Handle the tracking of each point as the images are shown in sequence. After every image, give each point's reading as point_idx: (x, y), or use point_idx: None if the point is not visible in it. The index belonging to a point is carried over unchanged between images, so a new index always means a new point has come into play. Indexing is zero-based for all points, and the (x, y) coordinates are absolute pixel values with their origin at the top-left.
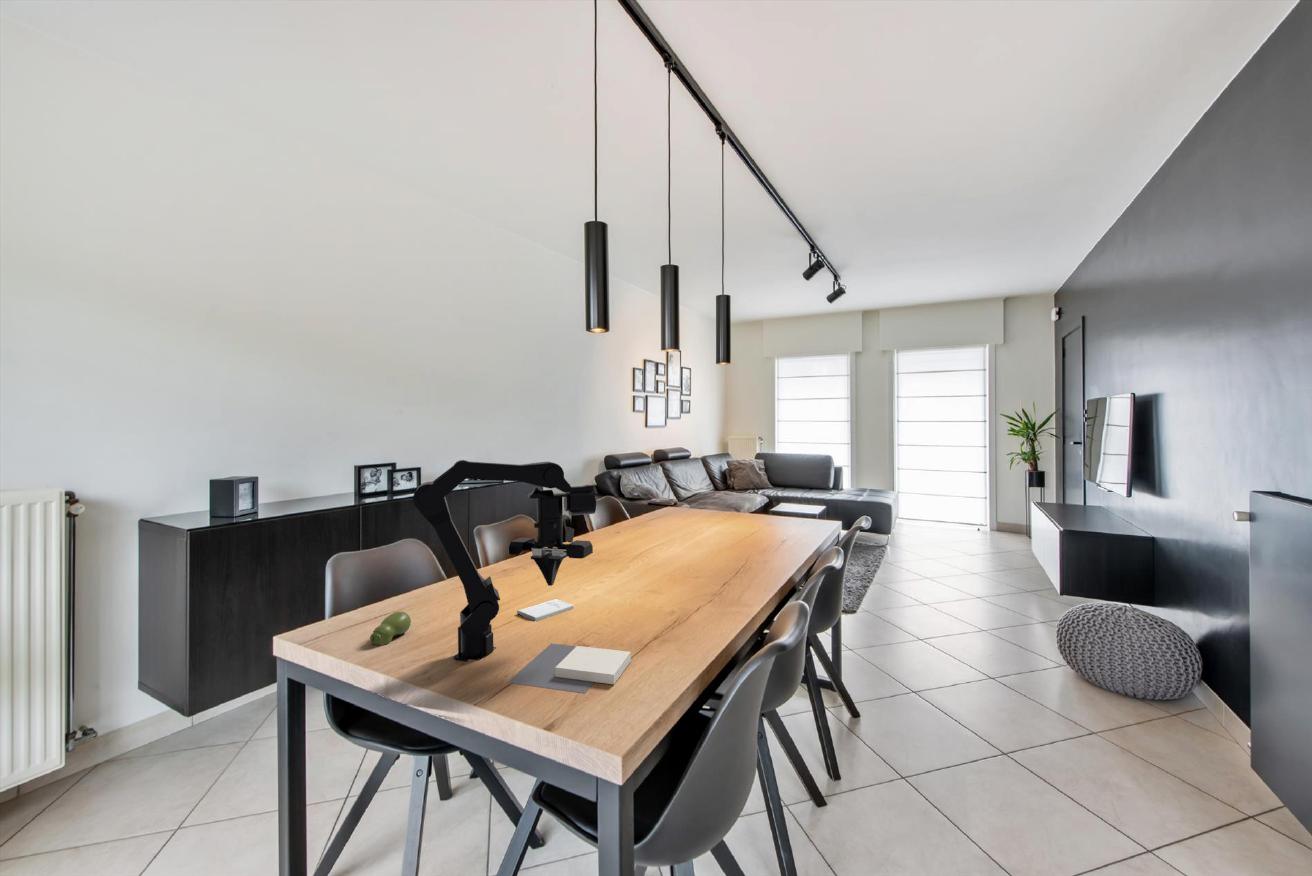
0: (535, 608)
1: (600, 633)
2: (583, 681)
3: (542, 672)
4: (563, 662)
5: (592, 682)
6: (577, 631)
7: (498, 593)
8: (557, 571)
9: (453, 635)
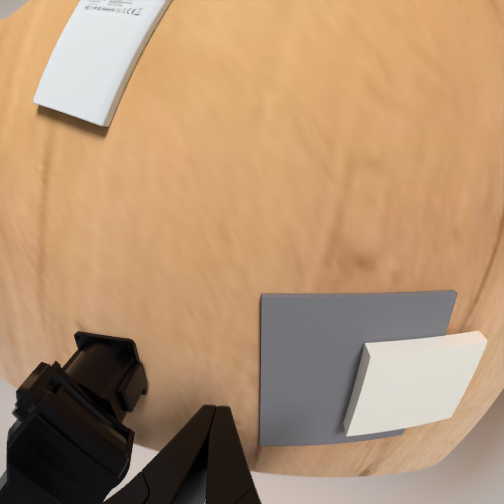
0: (69, 60)
1: (382, 163)
2: None
3: (310, 416)
4: (357, 422)
5: None
6: (296, 161)
7: (66, 444)
8: (252, 481)
9: (9, 278)
